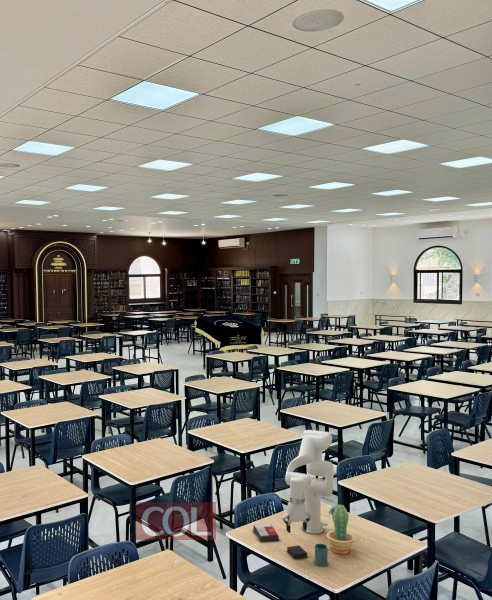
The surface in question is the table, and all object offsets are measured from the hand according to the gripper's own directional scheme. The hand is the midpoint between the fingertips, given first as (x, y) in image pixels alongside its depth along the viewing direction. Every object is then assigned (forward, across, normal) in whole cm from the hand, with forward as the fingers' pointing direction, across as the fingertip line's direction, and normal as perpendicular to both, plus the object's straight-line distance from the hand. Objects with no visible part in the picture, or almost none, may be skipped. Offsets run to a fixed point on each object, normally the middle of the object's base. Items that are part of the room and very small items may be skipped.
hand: (296, 531), depth 304 cm
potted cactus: (+13, -26, +2) cm, 30 cm away
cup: (+13, -8, +12) cm, 20 cm away
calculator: (+13, +7, -26) cm, 30 cm away
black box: (+13, 0, 0) cm, 13 cm away
